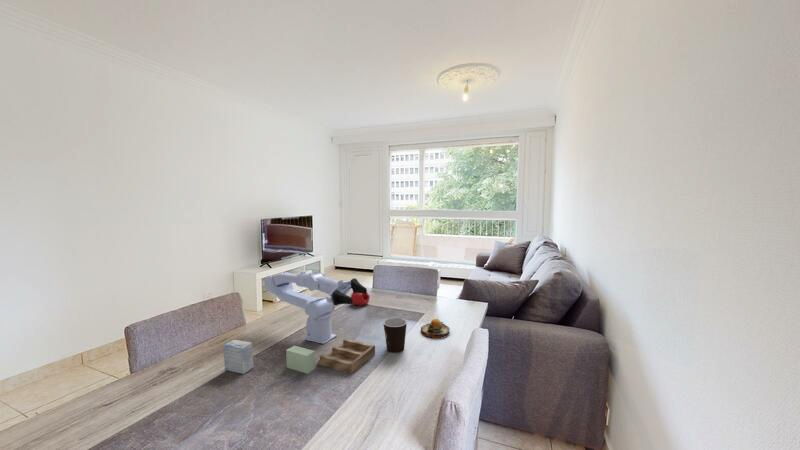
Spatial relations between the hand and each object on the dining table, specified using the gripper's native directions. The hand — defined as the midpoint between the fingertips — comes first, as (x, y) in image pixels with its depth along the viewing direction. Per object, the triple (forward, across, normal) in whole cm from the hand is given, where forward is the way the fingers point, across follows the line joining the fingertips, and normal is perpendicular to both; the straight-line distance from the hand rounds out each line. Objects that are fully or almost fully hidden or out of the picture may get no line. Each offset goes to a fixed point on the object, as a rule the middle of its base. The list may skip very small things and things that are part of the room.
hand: (359, 295), depth 108 cm
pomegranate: (-32, +33, +32) cm, 56 cm away
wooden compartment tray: (+2, -11, +18) cm, 22 cm away
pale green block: (-8, -23, +17) cm, 29 cm away
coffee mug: (+11, +5, +21) cm, 25 cm away
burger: (+18, +24, +25) cm, 39 cm away
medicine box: (-24, -34, +16) cm, 45 cm away
